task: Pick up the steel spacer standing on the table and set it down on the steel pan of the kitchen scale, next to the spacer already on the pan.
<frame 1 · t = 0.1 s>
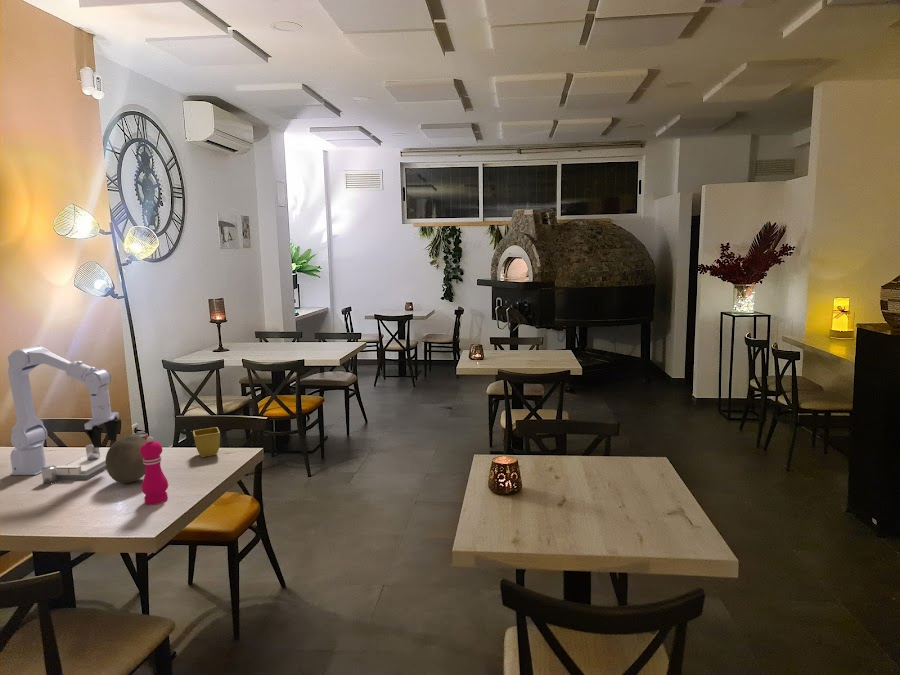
hand: (105, 443, 204), 10 cm above the table, tool pointing down, fingers open, 7 cm apart
pepper mill: (156, 501, 180), on the table
spacer a: (93, 458, 213), point 2 cm above the table, touching scale
flower pot: (208, 455, 221), on the table
cantaloupe: (132, 481, 196), on the table
beer can: (142, 468, 208), on the table
scale: (84, 470, 208), on the table
spacer b: (50, 482, 197), on the table
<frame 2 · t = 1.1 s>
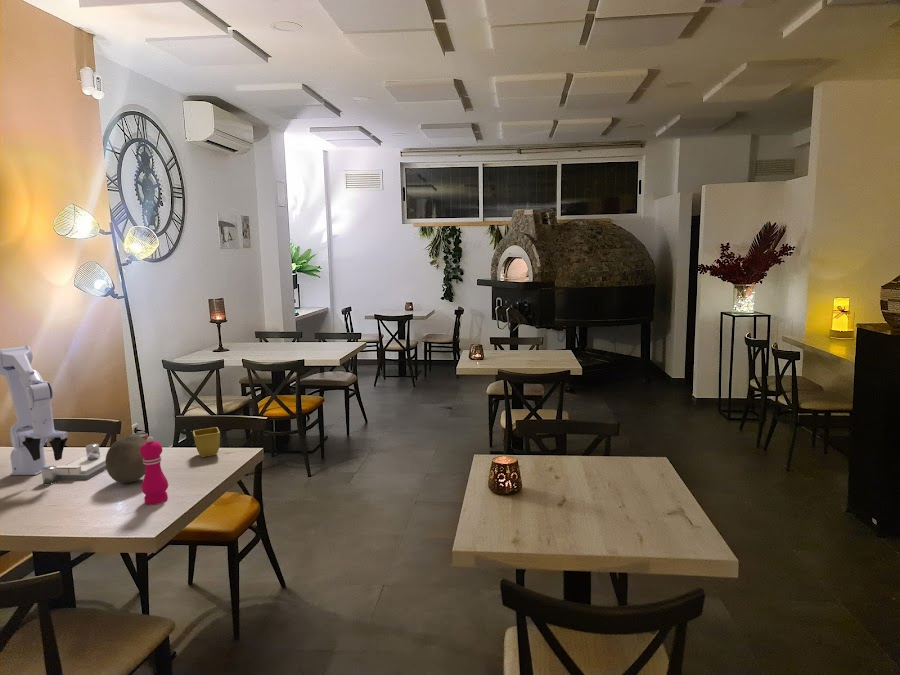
hand: (47, 459, 196), 8 cm above the table, tool pointing down, fingers open, 7 cm apart
nothing on the table moved.
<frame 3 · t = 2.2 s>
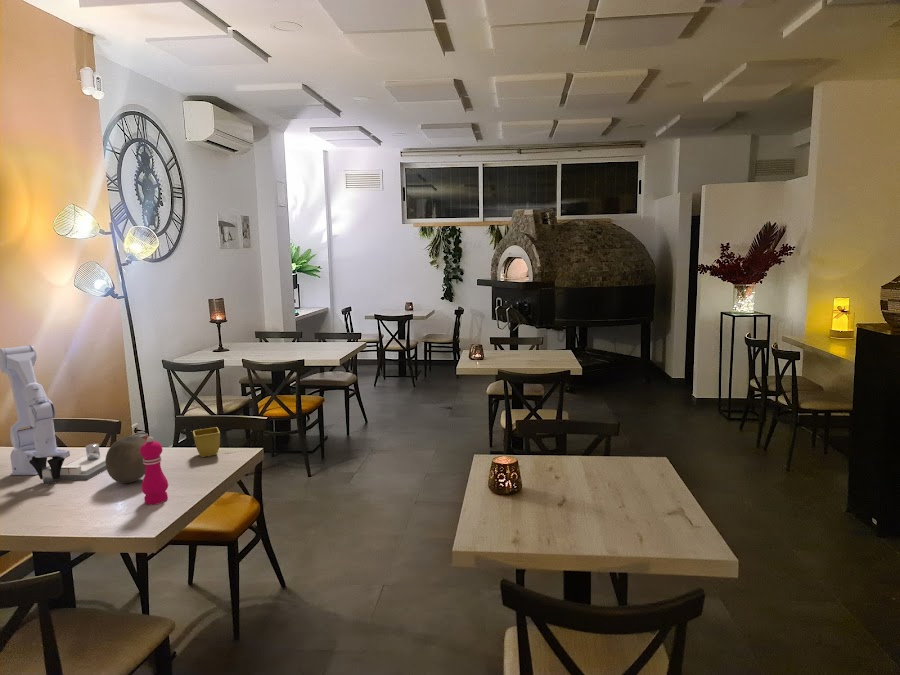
hand: (50, 478, 197), 1 cm above the table, tool pointing down, fingers closed on spacer b, 4 cm apart
spacer b: (50, 482, 197), on the table, touching gripper
everything else where it was.
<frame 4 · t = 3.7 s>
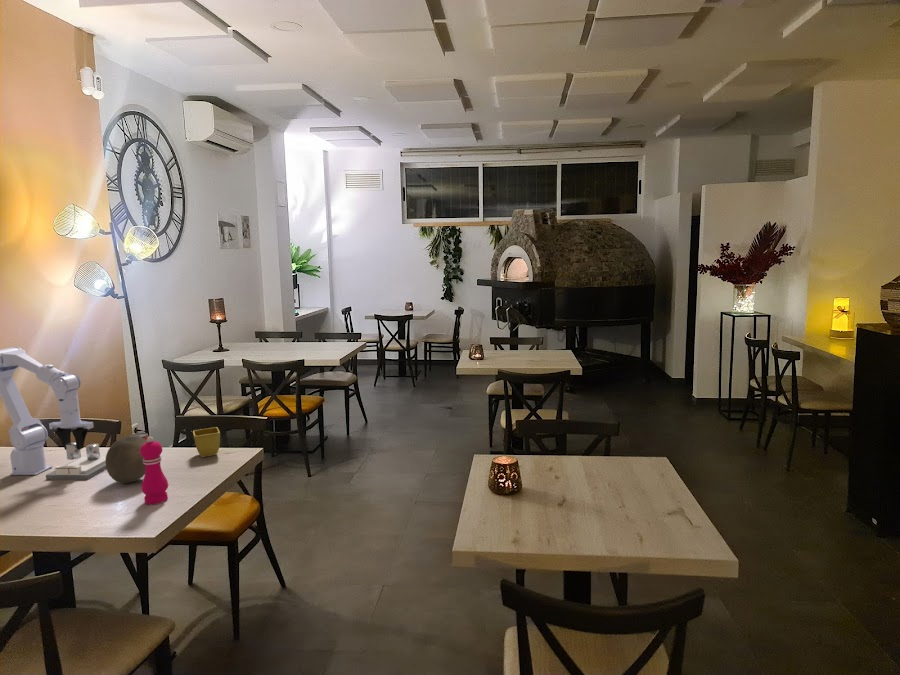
hand: (74, 448, 203), 9 cm above the table, tool pointing down, fingers closed on spacer b, 4 cm apart
spacer b: (74, 457, 203), point 6 cm above the table, touching gripper
everything else where it was.
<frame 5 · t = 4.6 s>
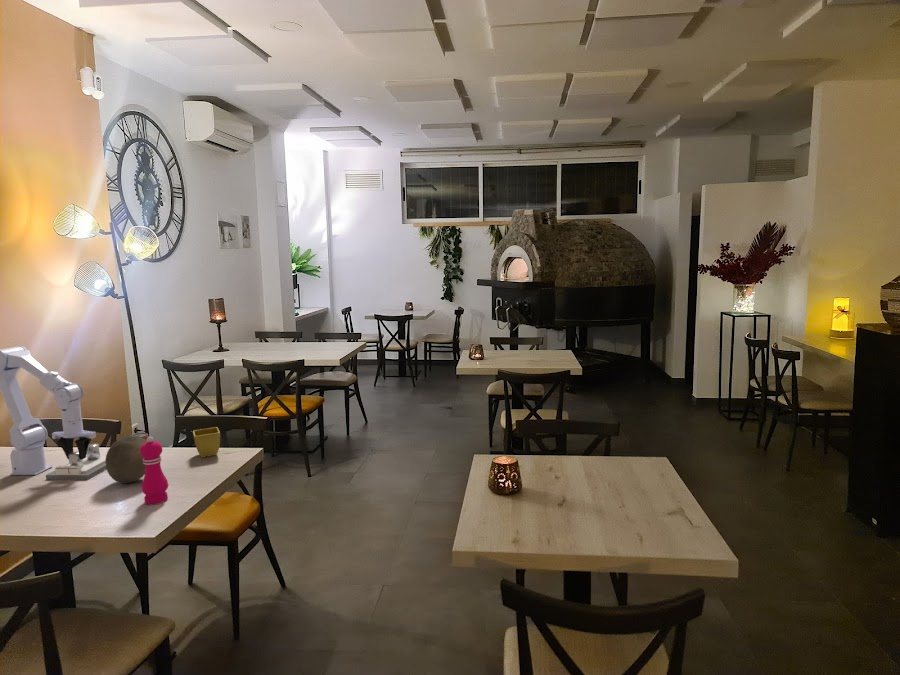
hand: (76, 458, 204), 5 cm above the table, tool pointing down, fingers closed on spacer b, 4 cm apart
spacer b: (76, 467, 204), point 2 cm above the table, touching gripper
everything else where it was.
when the fingers open (5 cm above the table, at t = 5.0 s): spacer b stays where it is, resting on scale.
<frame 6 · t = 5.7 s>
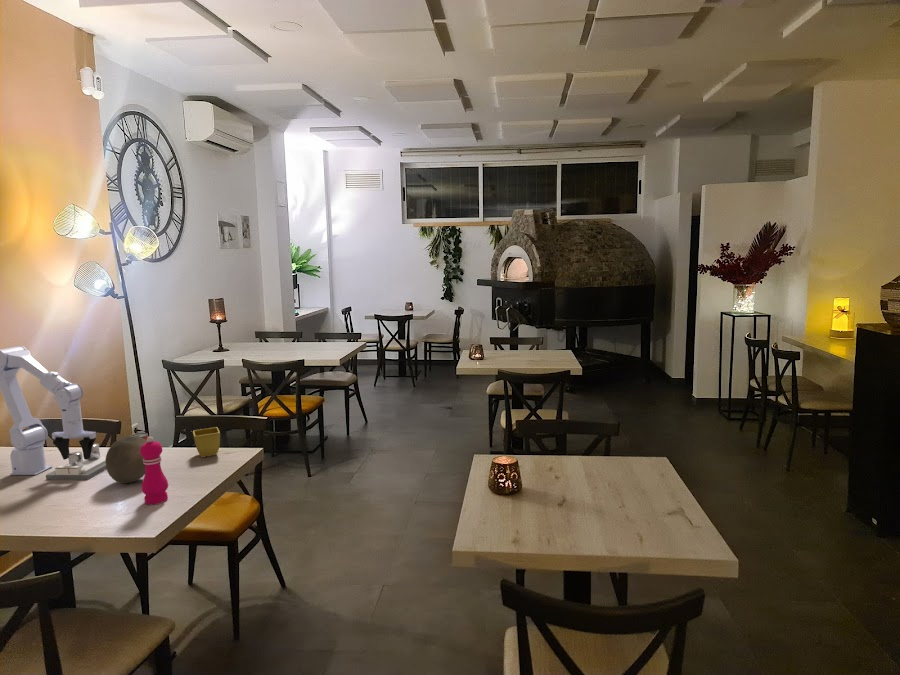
hand: (76, 458, 204), 5 cm above the table, tool pointing down, fingers open, 7 cm apart
spacer b: (76, 467, 204), point 2 cm above the table, touching scale
everything else where it was.
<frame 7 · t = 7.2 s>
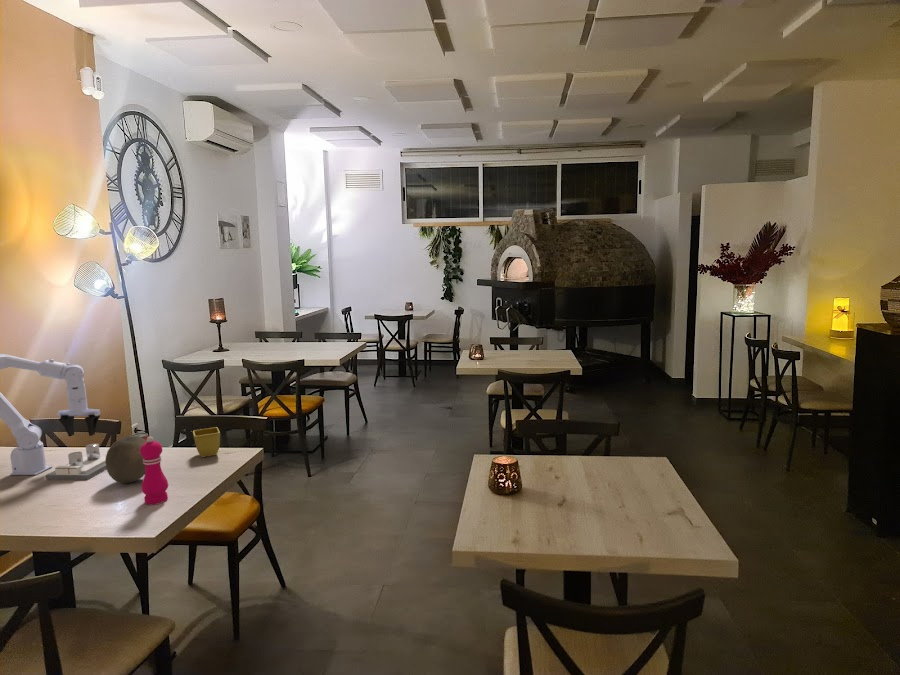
hand: (81, 435, 214), 10 cm above the table, tool pointing down, fingers open, 7 cm apart
nothing on the table moved.
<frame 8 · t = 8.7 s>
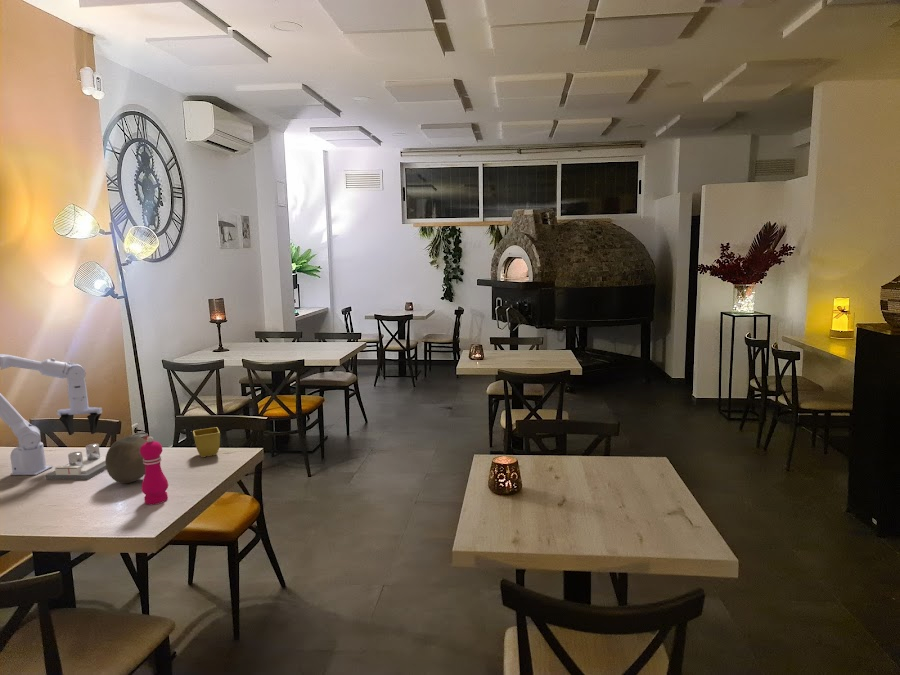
hand: (82, 433, 216), 10 cm above the table, tool pointing down, fingers open, 7 cm apart
nothing on the table moved.
at the end: spacer b inside the target area on the scale (0.9 cm from its centre), point 2.3 cm above the scale's base; spacer b tilted 0°; spacer a moved 0.1 cm from its start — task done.
